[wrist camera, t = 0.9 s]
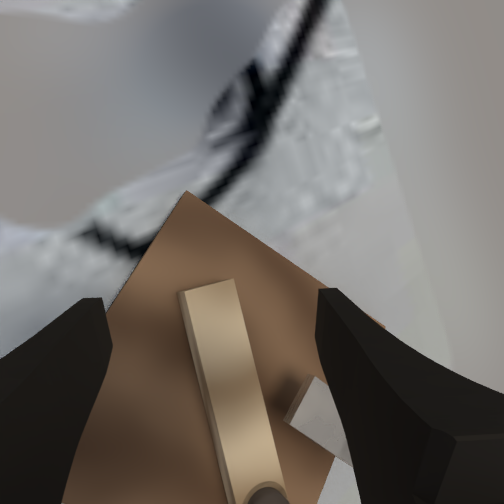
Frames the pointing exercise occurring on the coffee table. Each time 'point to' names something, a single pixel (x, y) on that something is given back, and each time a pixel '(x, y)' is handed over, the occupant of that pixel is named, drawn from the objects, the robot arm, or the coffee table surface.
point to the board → (184, 373)
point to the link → (232, 394)
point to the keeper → (319, 418)
